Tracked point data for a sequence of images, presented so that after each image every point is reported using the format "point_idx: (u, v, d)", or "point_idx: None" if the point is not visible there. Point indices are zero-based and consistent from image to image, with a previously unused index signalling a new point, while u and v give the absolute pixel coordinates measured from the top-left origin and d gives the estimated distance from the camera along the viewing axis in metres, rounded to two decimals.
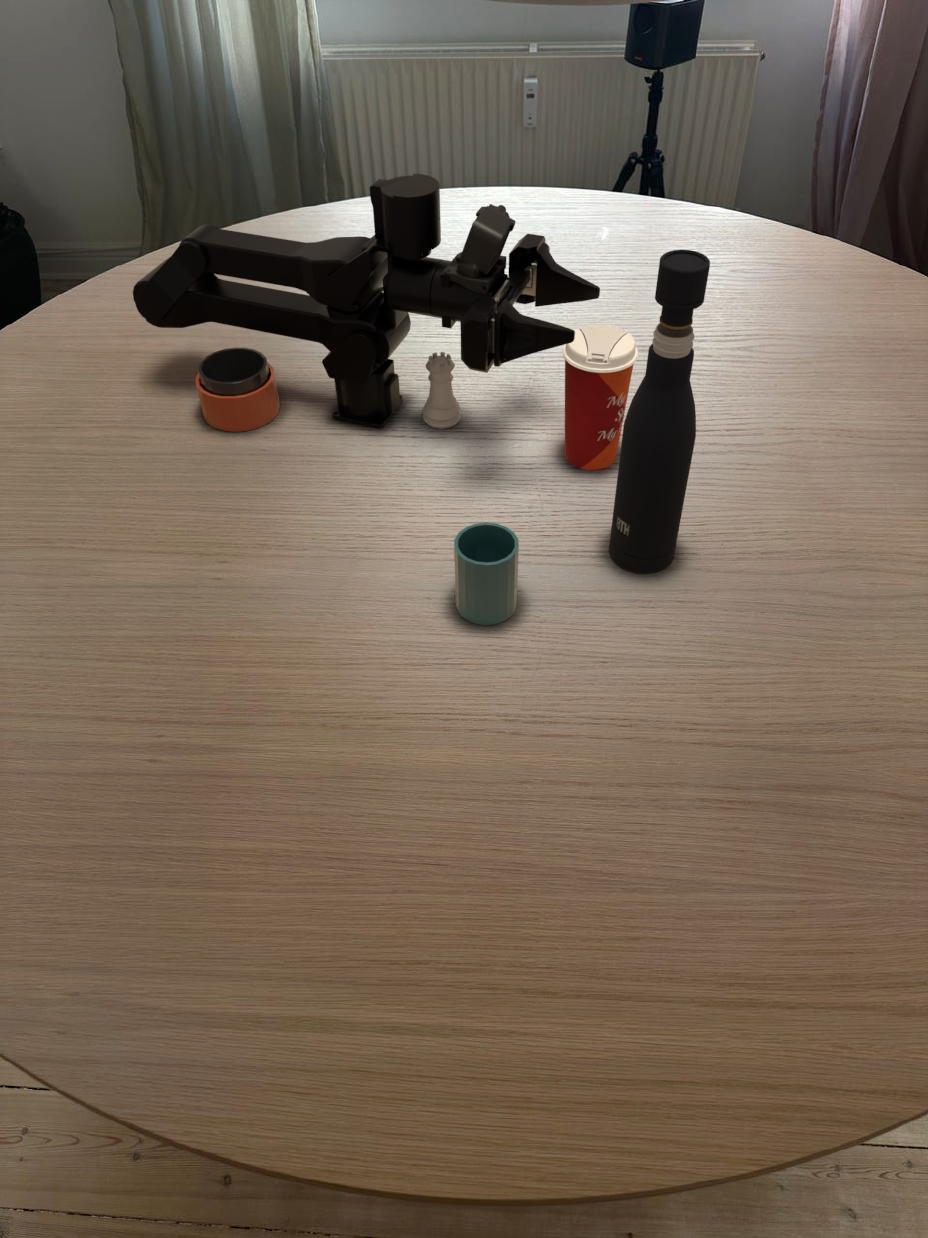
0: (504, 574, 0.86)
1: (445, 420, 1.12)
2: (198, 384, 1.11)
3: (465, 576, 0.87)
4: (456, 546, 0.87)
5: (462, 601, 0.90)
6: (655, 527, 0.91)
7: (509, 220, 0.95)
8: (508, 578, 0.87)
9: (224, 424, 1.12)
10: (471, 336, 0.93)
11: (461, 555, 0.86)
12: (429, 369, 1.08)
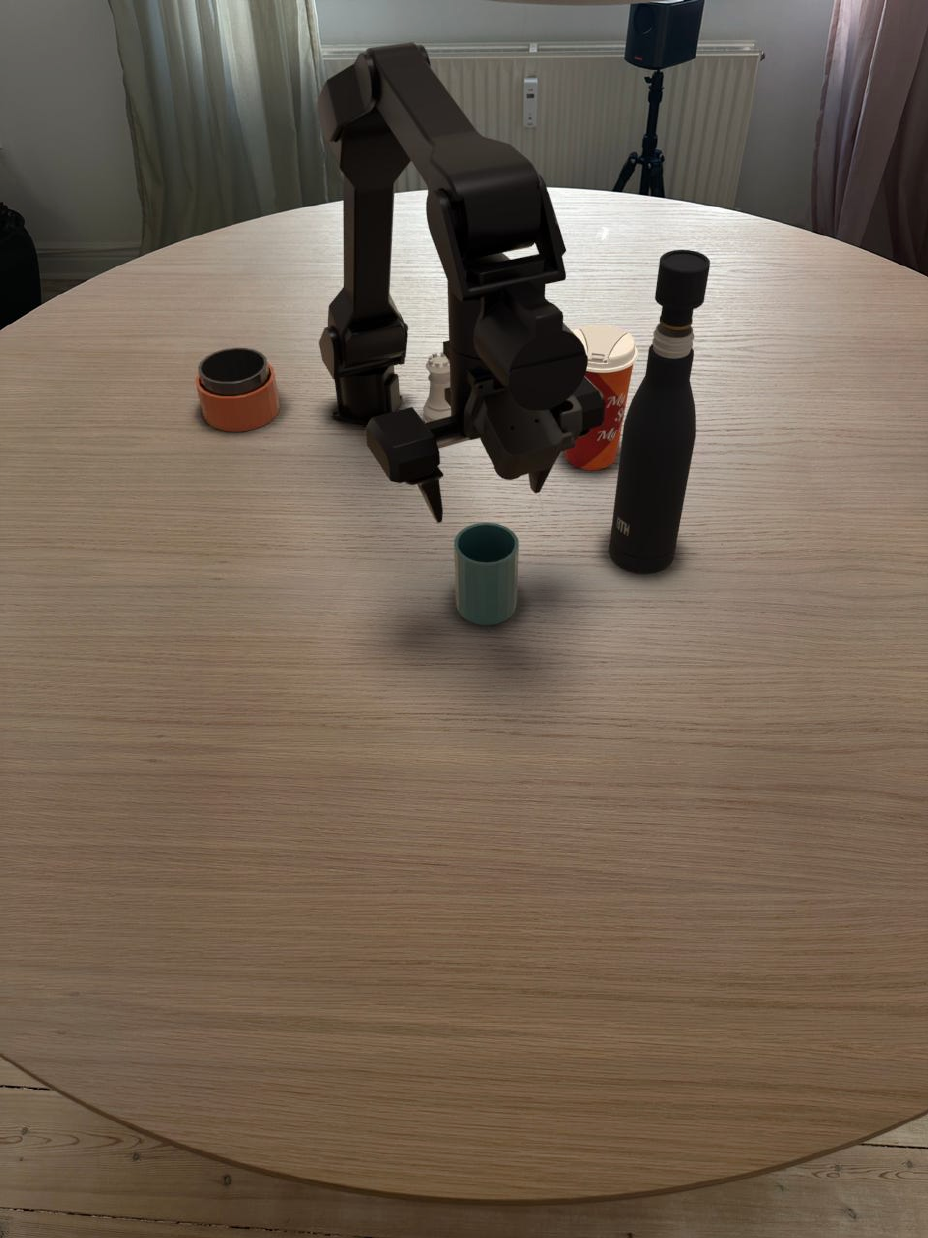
0: (504, 574, 0.86)
1: None
2: (198, 384, 1.11)
3: (465, 576, 0.87)
4: (456, 546, 0.87)
5: (462, 601, 0.90)
6: (655, 527, 0.91)
7: (544, 467, 0.73)
8: (508, 578, 0.87)
9: (224, 424, 1.12)
10: (381, 454, 0.75)
11: (461, 555, 0.86)
12: (429, 369, 1.08)
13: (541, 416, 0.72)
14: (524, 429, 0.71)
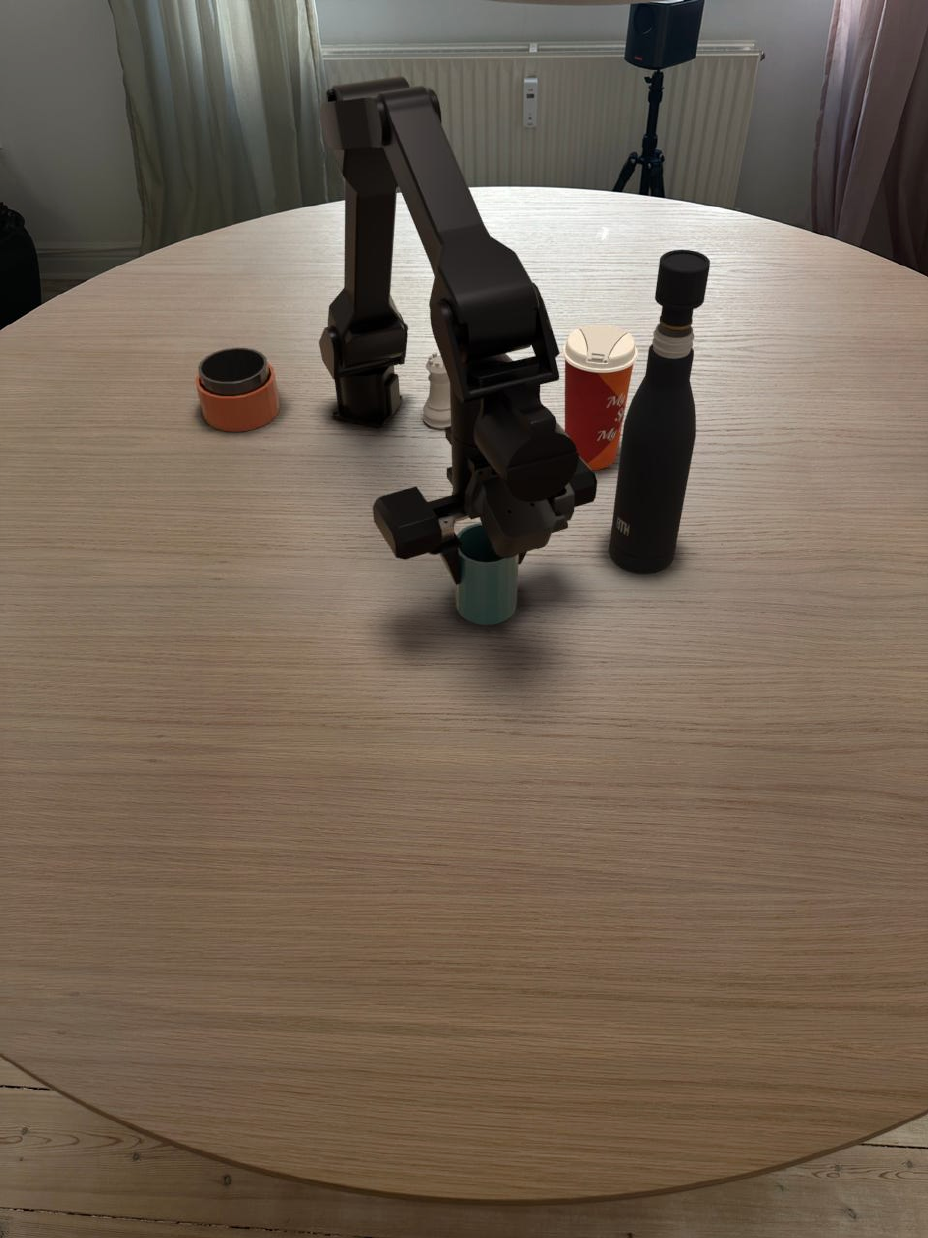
0: (504, 574, 0.86)
1: (445, 420, 1.12)
2: (198, 384, 1.11)
3: (465, 576, 0.87)
4: None
5: (462, 601, 0.90)
6: (655, 527, 0.91)
7: (540, 546, 0.79)
8: (508, 578, 0.87)
9: (224, 424, 1.12)
10: (387, 532, 0.80)
11: (461, 555, 0.86)
12: (429, 369, 1.08)
13: None
14: (520, 513, 0.77)
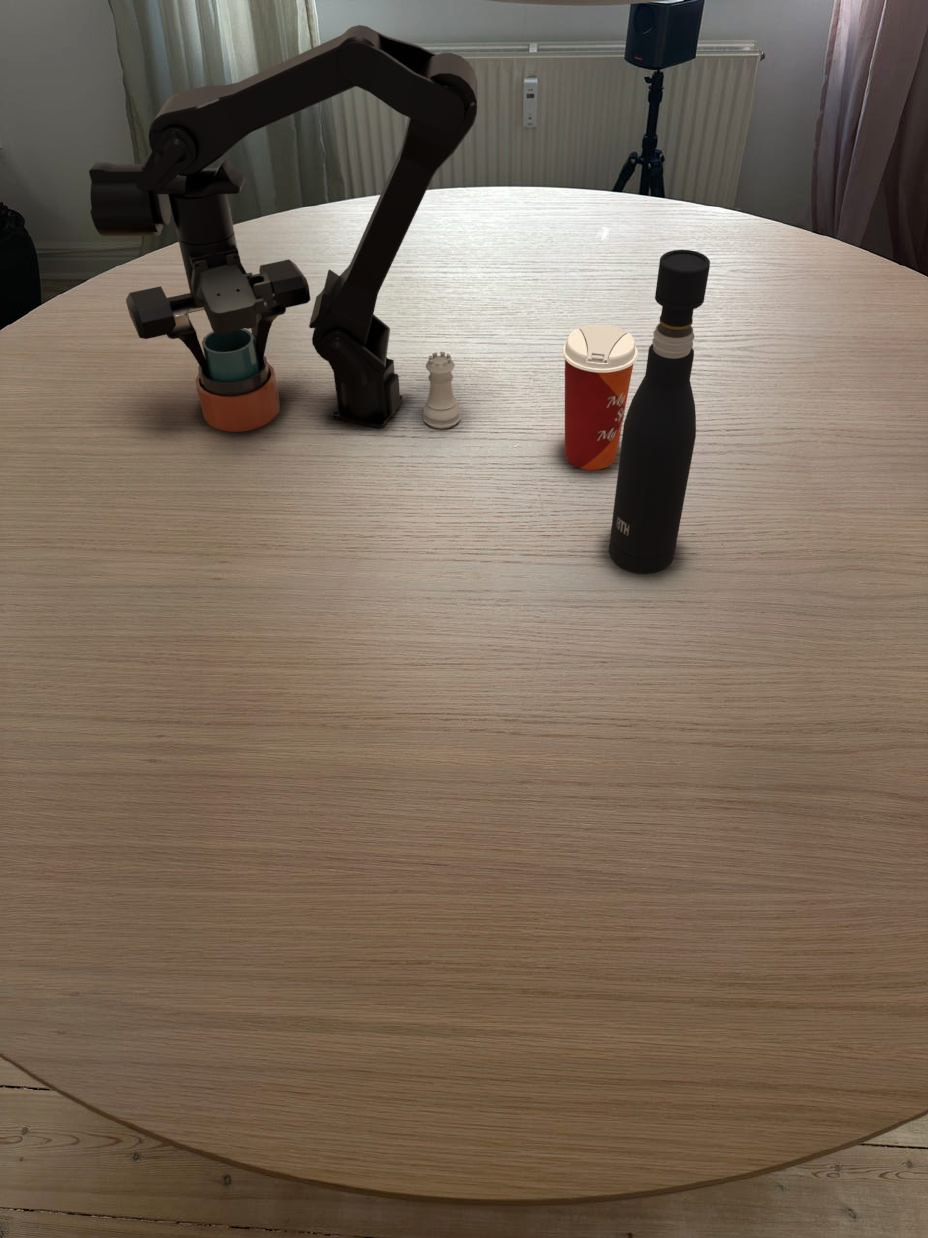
0: (240, 363, 1.09)
1: (445, 420, 1.12)
2: (198, 384, 1.11)
3: (211, 366, 1.09)
4: (203, 342, 1.09)
5: None
6: (655, 527, 0.91)
7: (248, 325, 1.01)
8: (245, 368, 1.09)
9: (224, 424, 1.12)
10: (133, 318, 1.02)
11: (205, 347, 1.08)
12: (429, 369, 1.08)
13: (242, 287, 1.00)
14: (227, 295, 0.99)
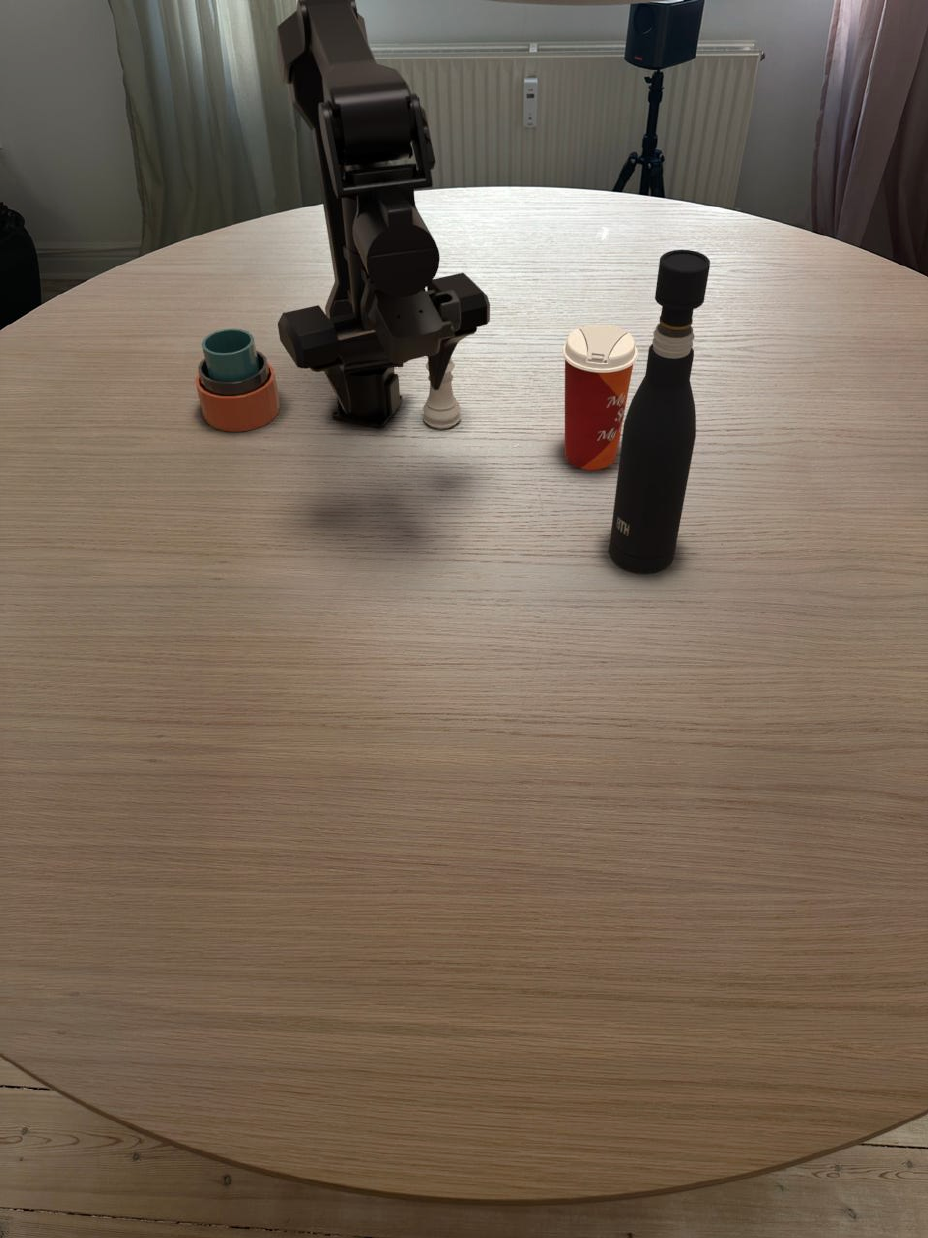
0: (240, 365, 1.09)
1: (445, 420, 1.12)
2: (198, 384, 1.11)
3: (211, 367, 1.09)
4: (203, 343, 1.09)
5: None
6: (655, 527, 0.91)
7: (429, 353, 0.84)
8: (245, 369, 1.09)
9: (224, 424, 1.12)
10: (289, 343, 0.86)
11: (205, 349, 1.08)
12: None
13: (425, 307, 0.83)
14: (409, 318, 0.82)
